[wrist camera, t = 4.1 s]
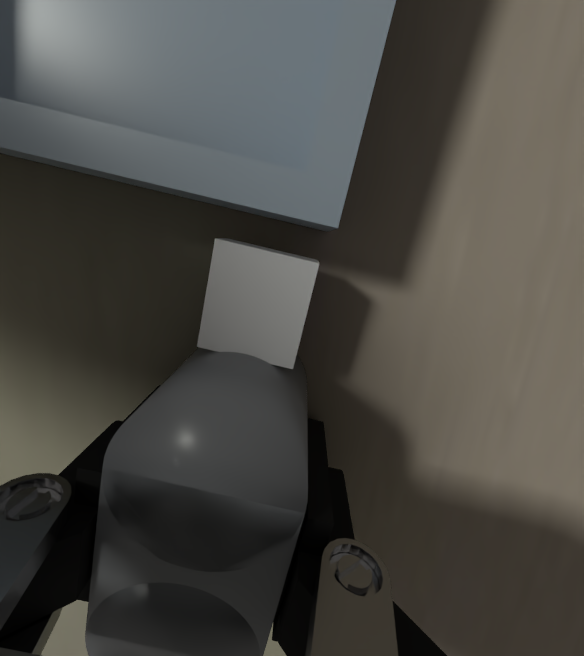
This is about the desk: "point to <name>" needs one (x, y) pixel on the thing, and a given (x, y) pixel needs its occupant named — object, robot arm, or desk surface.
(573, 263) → the desk surface
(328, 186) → the tray
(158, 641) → the graphite plug
